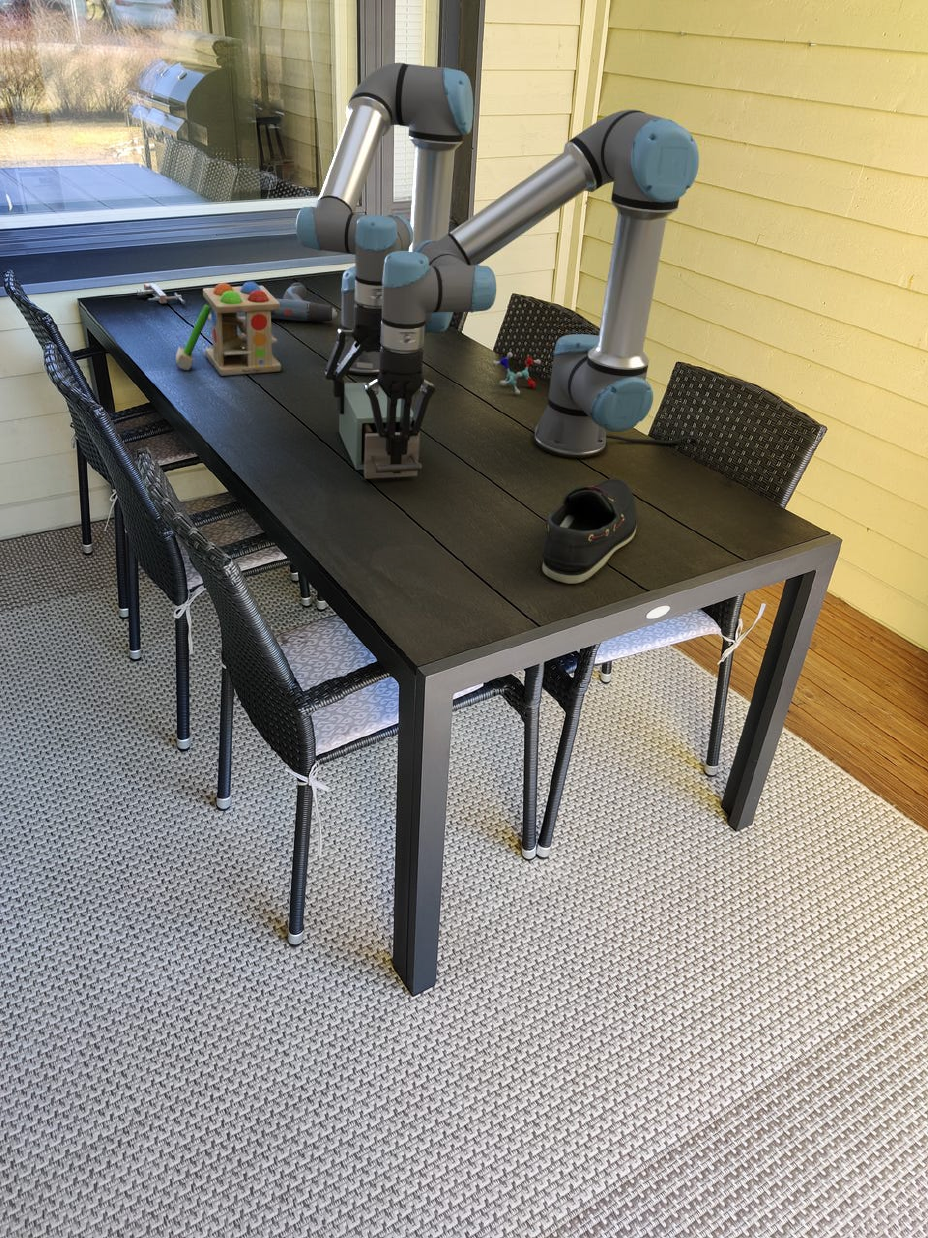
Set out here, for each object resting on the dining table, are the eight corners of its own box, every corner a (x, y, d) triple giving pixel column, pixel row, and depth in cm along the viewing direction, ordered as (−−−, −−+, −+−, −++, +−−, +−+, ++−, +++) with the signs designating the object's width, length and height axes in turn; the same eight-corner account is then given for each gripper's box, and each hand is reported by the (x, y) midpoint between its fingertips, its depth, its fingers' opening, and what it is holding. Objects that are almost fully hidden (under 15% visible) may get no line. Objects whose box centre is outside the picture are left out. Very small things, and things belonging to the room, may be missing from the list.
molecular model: (536, 387, 225) (523, 344, 224) (499, 400, 229) (485, 359, 227) (549, 385, 235) (536, 345, 234) (513, 399, 239) (500, 359, 238)
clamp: (132, 284, 268) (169, 281, 272) (133, 292, 269) (170, 289, 273) (148, 300, 257) (185, 297, 262) (148, 309, 259) (186, 306, 263)
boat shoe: (659, 521, 184) (668, 470, 179) (580, 590, 160) (587, 533, 155) (597, 502, 190) (604, 452, 184) (512, 566, 166) (517, 511, 160)
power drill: (344, 304, 276) (335, 327, 259) (277, 298, 275) (264, 321, 258) (344, 285, 273) (335, 306, 256) (277, 279, 272) (264, 300, 255)
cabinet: (412, 467, 194) (415, 416, 188) (355, 470, 191) (357, 418, 184) (392, 430, 207) (394, 381, 201) (339, 432, 204) (339, 383, 198)
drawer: (425, 489, 184) (427, 446, 179) (371, 492, 181) (373, 449, 176) (397, 440, 201) (399, 400, 196) (348, 442, 198) (349, 401, 193)
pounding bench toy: (183, 379, 220) (176, 299, 210) (169, 357, 231) (162, 280, 221) (282, 371, 230) (280, 294, 220) (264, 350, 240) (262, 276, 230)
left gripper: (315, 309, 181) (315, 420, 193) (439, 308, 188) (431, 415, 200) (308, 297, 187) (309, 405, 199) (429, 297, 194) (422, 401, 206)
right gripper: (369, 354, 165) (364, 480, 178) (443, 353, 169) (434, 477, 182) (360, 339, 171) (357, 462, 184) (432, 338, 174) (424, 459, 188)
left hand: (370, 410), depth 200 cm, fingers closed on cabinet, 11 cm apart
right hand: (395, 469), depth 183 cm, fingers closed
